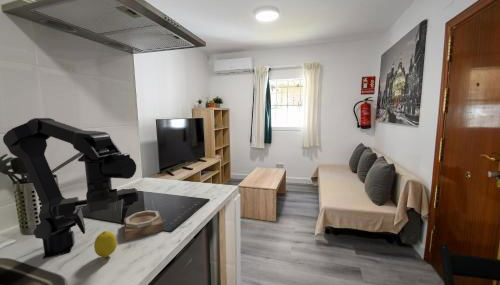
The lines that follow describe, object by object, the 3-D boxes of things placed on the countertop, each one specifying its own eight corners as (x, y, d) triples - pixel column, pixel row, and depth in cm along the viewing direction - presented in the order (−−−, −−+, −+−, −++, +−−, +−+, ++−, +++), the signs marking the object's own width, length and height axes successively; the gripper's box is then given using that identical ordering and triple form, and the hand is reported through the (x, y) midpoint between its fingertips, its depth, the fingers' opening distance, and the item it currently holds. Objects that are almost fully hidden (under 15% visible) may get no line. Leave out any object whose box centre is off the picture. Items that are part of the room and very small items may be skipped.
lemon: (113, 248, 68) (111, 224, 67) (120, 255, 65) (118, 230, 64) (93, 257, 64) (90, 232, 63) (99, 265, 60) (96, 238, 60)
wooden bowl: (125, 240, 73) (124, 228, 72) (124, 225, 83) (124, 214, 83) (163, 230, 79) (162, 219, 78) (158, 217, 89) (157, 207, 89)
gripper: (46, 191, 50) (54, 254, 52) (137, 178, 59) (141, 232, 61) (58, 179, 59) (64, 232, 61) (135, 170, 69) (138, 216, 71)
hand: (103, 228), depth 63 cm, fingers open, 9 cm apart
